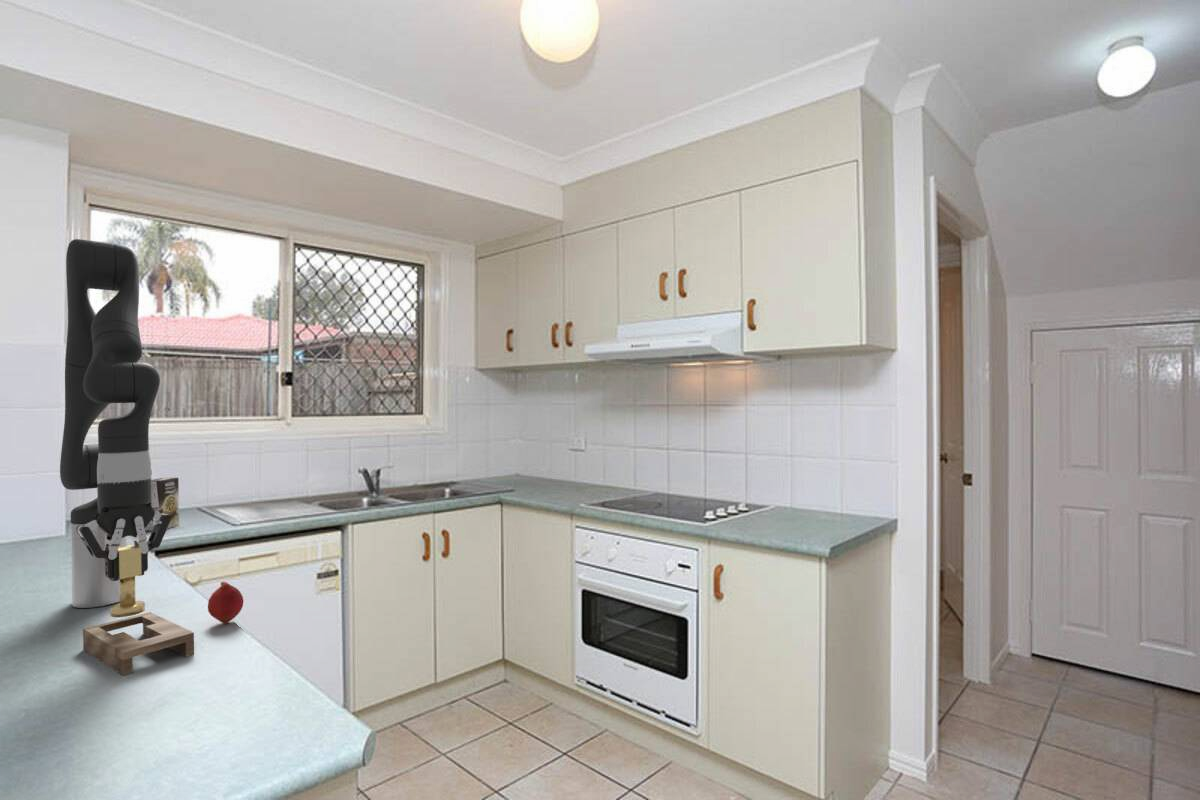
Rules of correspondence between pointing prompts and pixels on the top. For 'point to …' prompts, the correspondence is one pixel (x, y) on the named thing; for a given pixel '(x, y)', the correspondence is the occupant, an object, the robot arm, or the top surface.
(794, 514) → the top surface
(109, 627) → the keyhole plate
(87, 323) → the robot arm
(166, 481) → the coffee box
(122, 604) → the keyhole peg
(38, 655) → the top surface
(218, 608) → the onion
